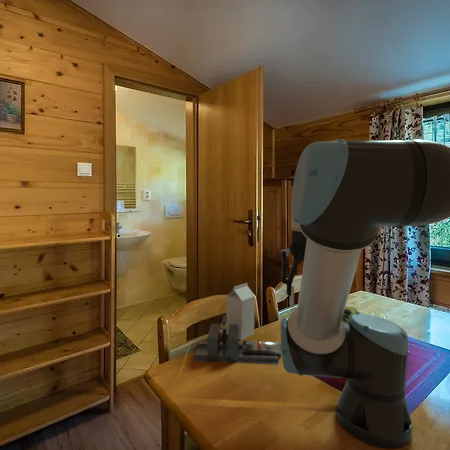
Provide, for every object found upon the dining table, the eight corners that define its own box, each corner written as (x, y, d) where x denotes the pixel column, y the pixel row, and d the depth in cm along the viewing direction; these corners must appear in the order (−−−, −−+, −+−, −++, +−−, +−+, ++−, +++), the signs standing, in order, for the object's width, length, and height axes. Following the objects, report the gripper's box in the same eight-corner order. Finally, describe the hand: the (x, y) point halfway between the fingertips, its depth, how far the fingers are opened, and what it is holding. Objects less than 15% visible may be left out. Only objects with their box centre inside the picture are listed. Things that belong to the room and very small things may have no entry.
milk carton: (254, 337, 112) (255, 284, 111) (241, 343, 107) (242, 289, 105) (238, 331, 117) (239, 280, 115) (225, 337, 112) (226, 284, 110)
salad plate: (389, 332, 119) (390, 320, 118) (348, 338, 114) (349, 325, 113) (354, 313, 137) (355, 303, 137) (318, 317, 132) (319, 307, 132)
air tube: (280, 351, 100) (281, 339, 99) (282, 357, 96) (282, 345, 96) (242, 349, 100) (242, 338, 100) (242, 355, 97) (242, 343, 96)
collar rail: (278, 368, 92) (279, 332, 91) (193, 364, 94) (193, 329, 93) (274, 348, 104) (275, 316, 103) (199, 345, 105) (199, 314, 104)
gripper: (332, 229, 97) (328, 303, 99) (272, 228, 98) (270, 301, 100) (339, 232, 90) (335, 311, 92) (274, 230, 91) (272, 309, 93)
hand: (301, 306), depth 96 cm, fingers open, 5 cm apart
